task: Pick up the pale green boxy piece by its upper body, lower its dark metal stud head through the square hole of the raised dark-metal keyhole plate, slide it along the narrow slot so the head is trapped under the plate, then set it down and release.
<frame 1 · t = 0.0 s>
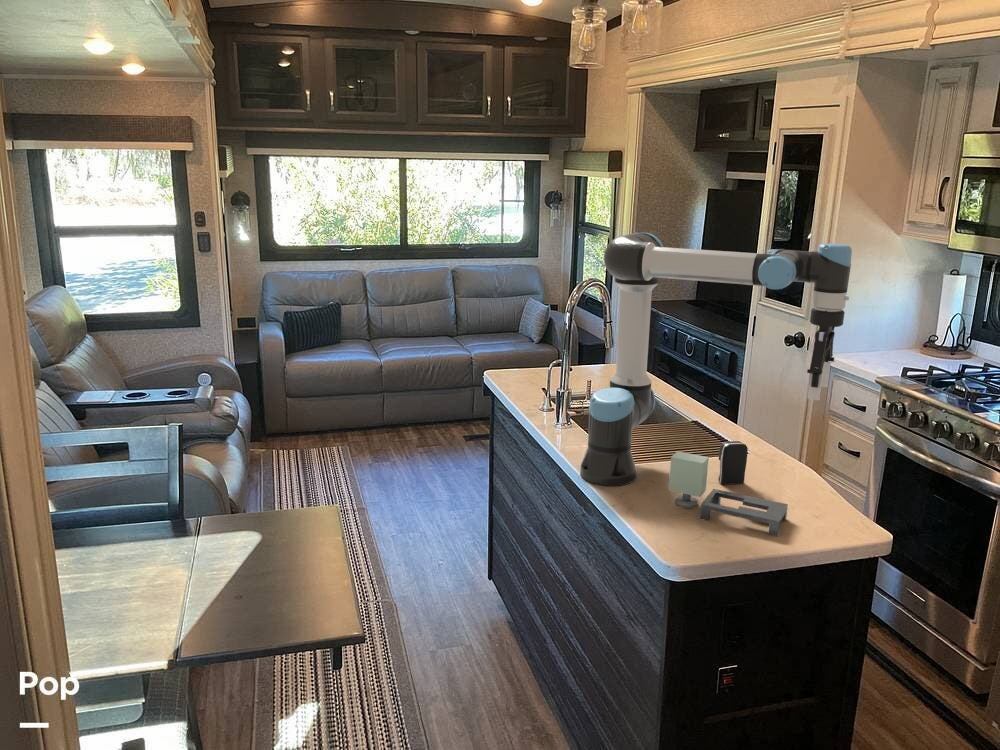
hand: (817, 392, 196), 28 cm above the table, fingers open, 13 cm apart
pale green boxy piece: (686, 503, 198), on the table
keyhole plate: (743, 518, 190), on the table
battery charger: (729, 482, 212), on the table
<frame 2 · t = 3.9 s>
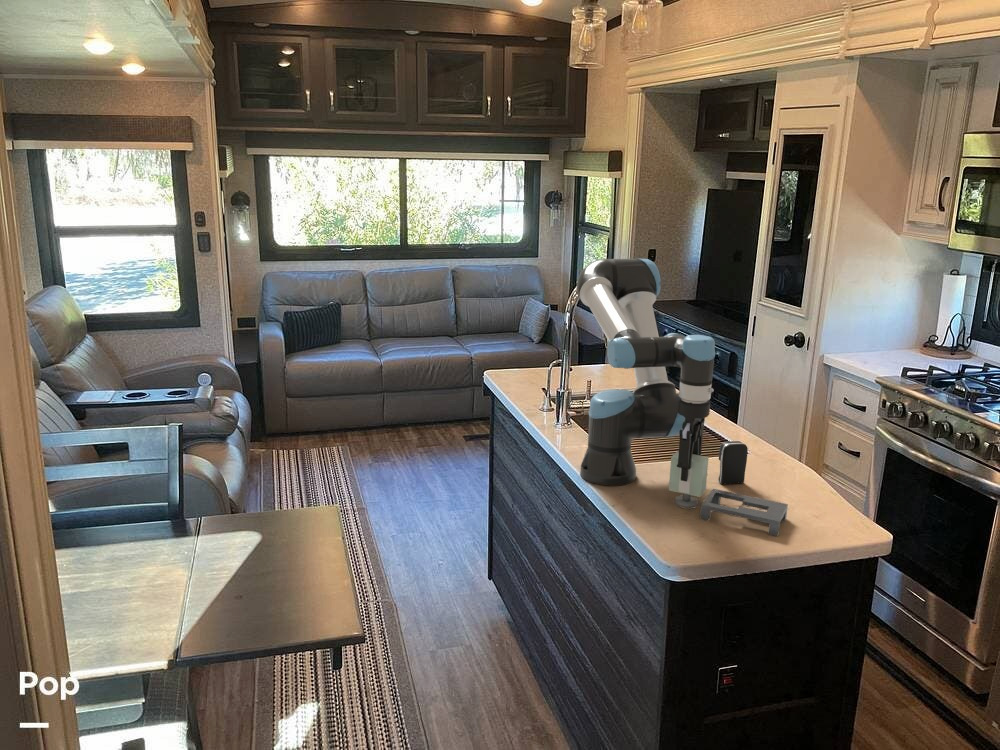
hand: (687, 487, 197), 4 cm above the table, fingers closed on pale green boxy piece, 5 cm apart
pale green boxy piece: (686, 503, 198), on the table, touching gripper
everything else where it was.
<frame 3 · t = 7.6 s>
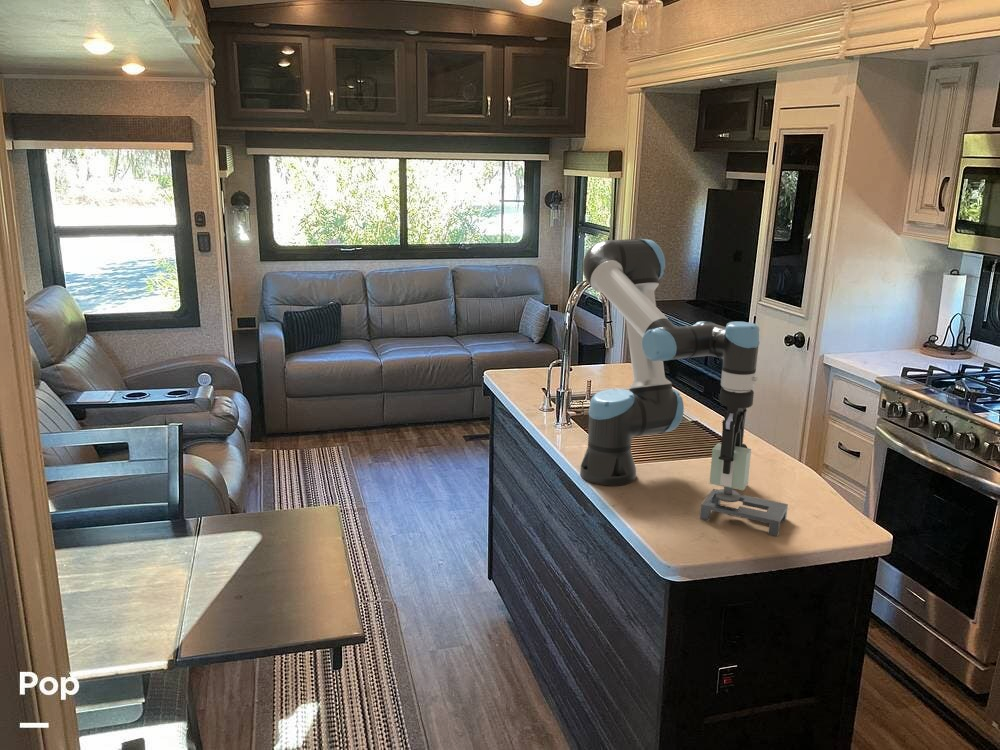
hand: (728, 481, 189), 9 cm above the table, fingers closed on pale green boxy piece, 5 cm apart
pale green boxy piece: (727, 497, 190), point 5 cm above the table, touching gripper
everything else where it was.
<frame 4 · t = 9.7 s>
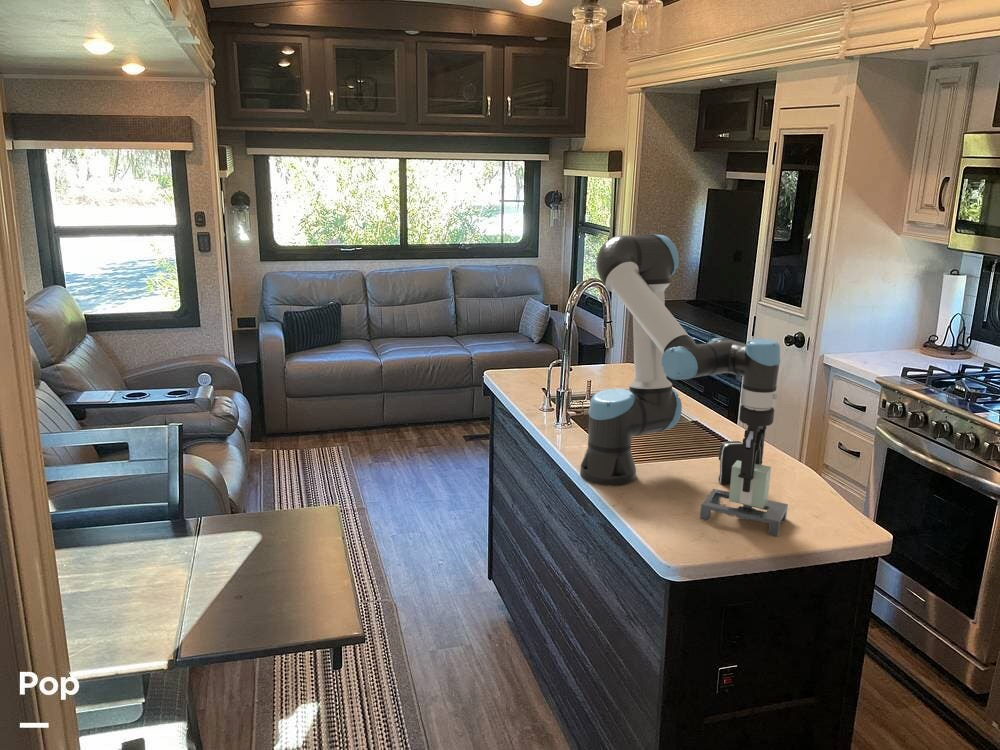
hand: (748, 498, 188), 5 cm above the table, fingers closed on pale green boxy piece, 5 cm apart
pale green boxy piece: (746, 515, 189), point 1 cm above the table, touching gripper
everything else where it was.
when the fingers open (5 cm above the table, at t = 11.4 s): pale green boxy piece stays where it is, resting on keyhole plate.
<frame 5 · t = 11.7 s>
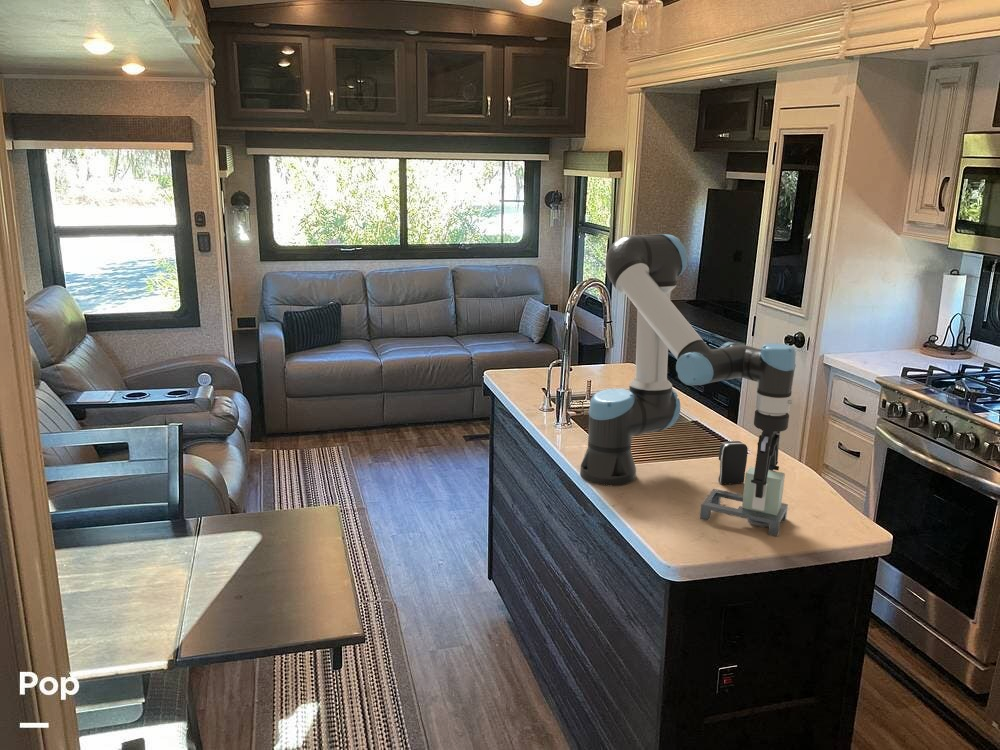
hand: (762, 502, 187), 5 cm above the table, fingers open, 8 cm apart
pale green boxy piece: (760, 521, 188), resting on keyhole plate
everything else where it was.
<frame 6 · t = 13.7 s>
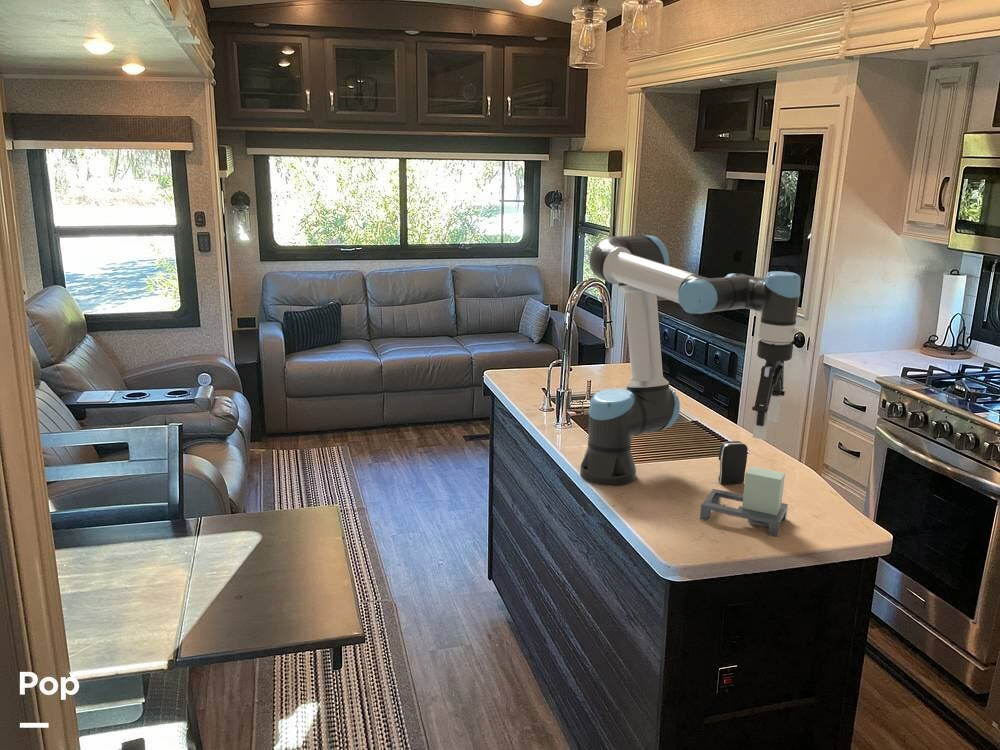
hand: (765, 429, 183), 23 cm above the table, fingers open, 13 cm apart
nothing on the table moved.
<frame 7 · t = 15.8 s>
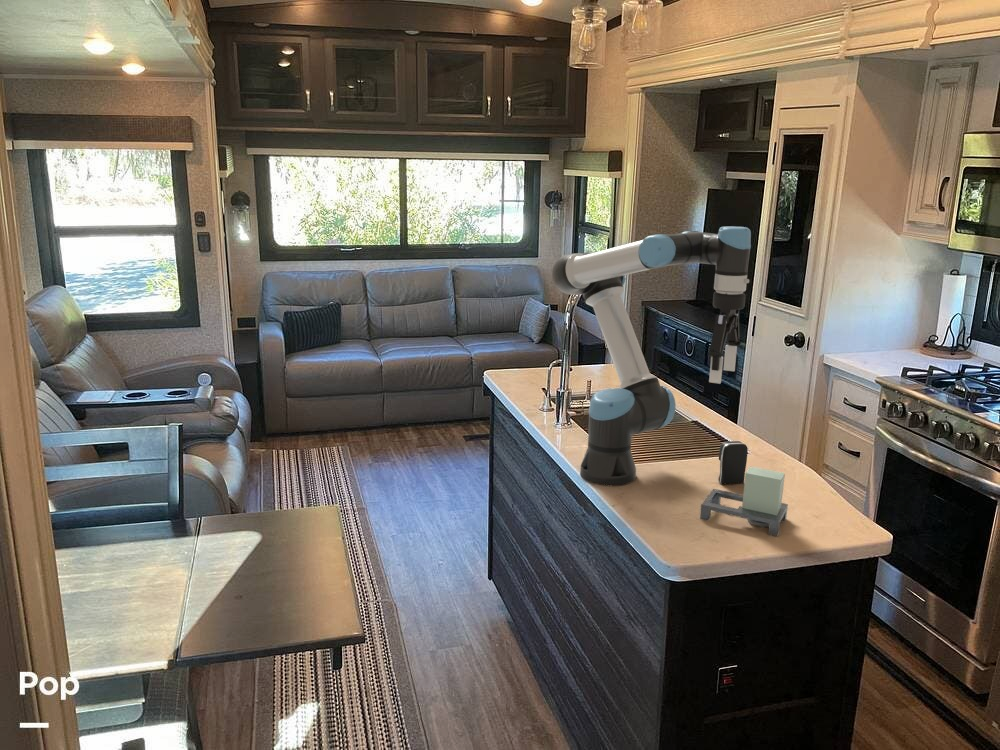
hand: (722, 376, 195), 32 cm above the table, fingers open, 13 cm apart
nothing on the table moved.
at the end: pale green boxy piece 0.2 cm from the target spot on the keyhole plate, point 0.2 cm above the keyhole plate's base; pale green boxy piece tilted 0°; the gripper is holding nothing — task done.
